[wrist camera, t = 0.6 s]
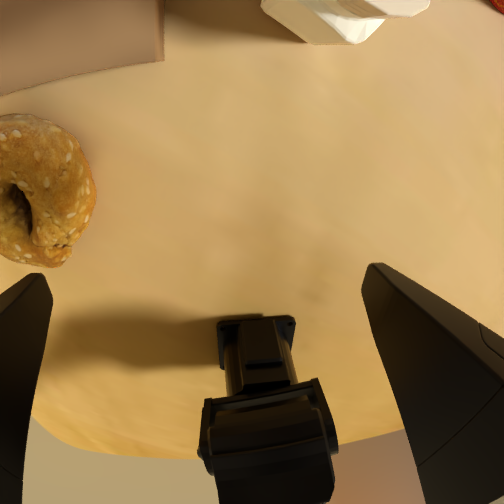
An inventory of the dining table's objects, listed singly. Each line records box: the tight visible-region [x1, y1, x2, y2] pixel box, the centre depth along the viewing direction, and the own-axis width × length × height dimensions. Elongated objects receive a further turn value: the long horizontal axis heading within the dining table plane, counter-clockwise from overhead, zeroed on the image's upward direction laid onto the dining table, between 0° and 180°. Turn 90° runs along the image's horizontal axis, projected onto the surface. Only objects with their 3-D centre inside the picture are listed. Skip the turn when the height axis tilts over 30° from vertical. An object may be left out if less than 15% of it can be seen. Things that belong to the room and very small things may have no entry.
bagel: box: [0, 114, 96, 268], centre depth 16 cm, size 10×11×5 cm
